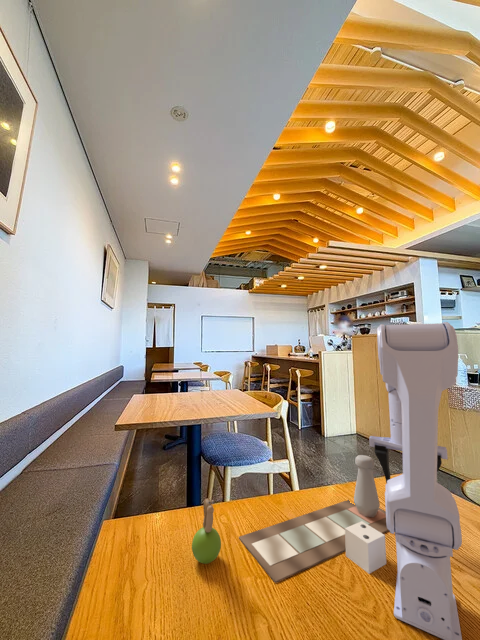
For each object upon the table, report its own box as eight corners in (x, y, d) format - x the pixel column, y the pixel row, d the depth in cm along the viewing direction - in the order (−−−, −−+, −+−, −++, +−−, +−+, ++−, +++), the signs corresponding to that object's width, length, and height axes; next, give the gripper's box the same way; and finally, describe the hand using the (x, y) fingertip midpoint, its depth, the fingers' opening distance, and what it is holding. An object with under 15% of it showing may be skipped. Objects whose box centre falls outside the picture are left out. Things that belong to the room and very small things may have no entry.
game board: (275, 583, 46) (275, 580, 46) (238, 538, 58) (238, 536, 58) (405, 523, 64) (405, 521, 64) (357, 497, 75) (357, 496, 75)
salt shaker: (356, 503, 71) (354, 451, 73) (381, 510, 68) (378, 455, 70) (352, 514, 66) (349, 457, 68) (378, 522, 63) (375, 462, 65)
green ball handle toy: (193, 578, 47) (196, 503, 49) (190, 552, 53) (192, 486, 55) (224, 572, 49) (225, 499, 50) (217, 548, 55) (219, 483, 56)
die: (369, 574, 49) (367, 543, 49) (345, 556, 53) (344, 527, 54) (386, 564, 51) (384, 534, 52) (362, 548, 55) (361, 520, 56)
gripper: (443, 422, 61) (448, 488, 59) (371, 414, 68) (373, 472, 67) (446, 429, 55) (452, 502, 53) (366, 419, 63) (369, 483, 61)
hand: (408, 486), depth 59 cm, fingers open, 7 cm apart
